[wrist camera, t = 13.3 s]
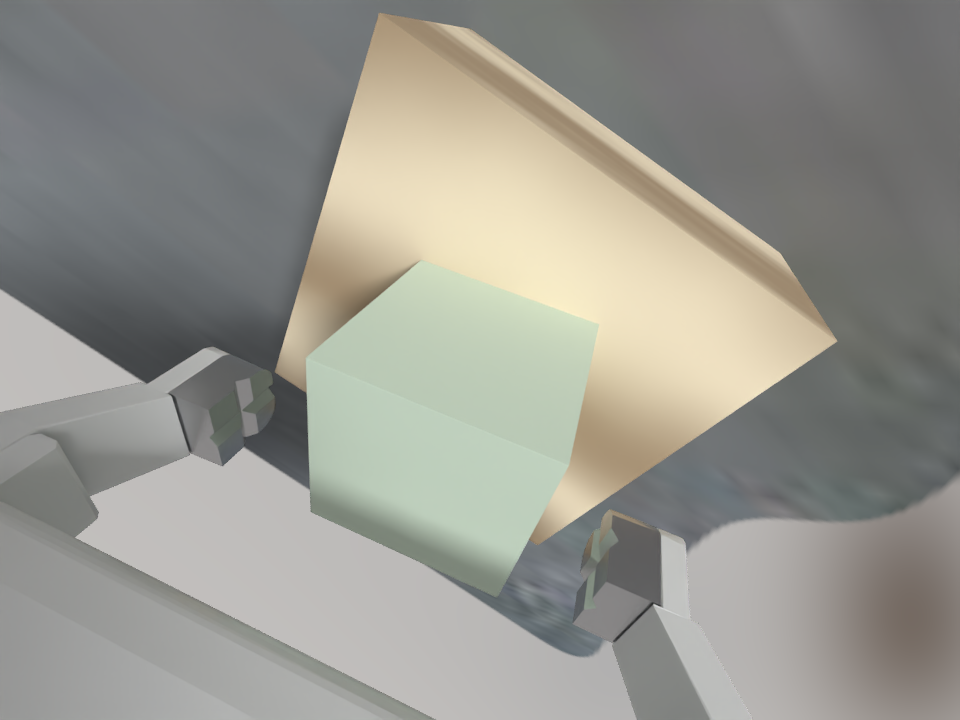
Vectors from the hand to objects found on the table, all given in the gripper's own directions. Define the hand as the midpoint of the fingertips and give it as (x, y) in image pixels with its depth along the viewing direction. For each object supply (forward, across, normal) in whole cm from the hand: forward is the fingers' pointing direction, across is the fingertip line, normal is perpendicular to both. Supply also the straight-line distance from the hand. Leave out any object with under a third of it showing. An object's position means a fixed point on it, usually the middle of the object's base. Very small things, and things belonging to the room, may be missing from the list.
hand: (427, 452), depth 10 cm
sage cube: (+4, 0, 0) cm, 4 cm away
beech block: (+10, 0, 0) cm, 10 cm away
